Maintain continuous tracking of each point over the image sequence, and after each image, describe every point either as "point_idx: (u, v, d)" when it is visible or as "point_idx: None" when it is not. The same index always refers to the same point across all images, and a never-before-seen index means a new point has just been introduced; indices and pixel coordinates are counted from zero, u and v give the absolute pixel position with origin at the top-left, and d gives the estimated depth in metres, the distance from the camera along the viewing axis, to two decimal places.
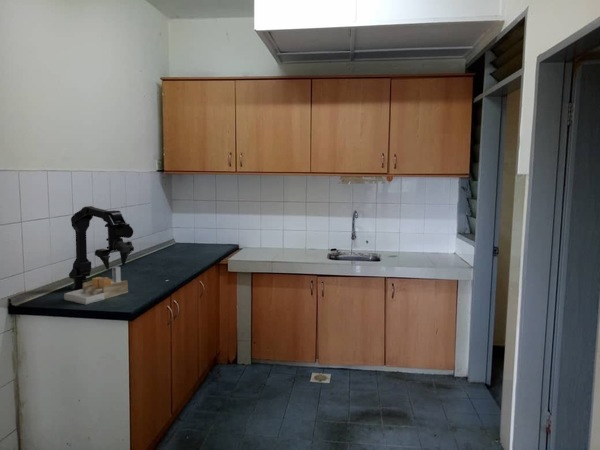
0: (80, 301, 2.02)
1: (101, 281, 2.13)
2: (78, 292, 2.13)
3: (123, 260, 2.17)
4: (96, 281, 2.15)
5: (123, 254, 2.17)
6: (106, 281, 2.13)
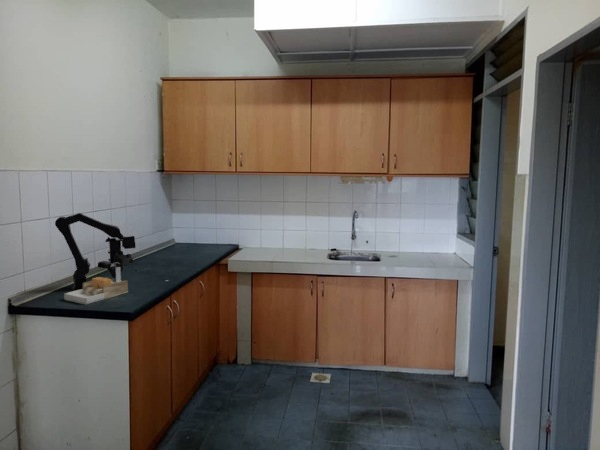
0: (80, 301, 2.02)
1: (101, 281, 2.13)
2: (78, 292, 2.13)
3: None
4: (96, 281, 2.15)
5: (119, 266, 2.36)
6: (106, 281, 2.13)
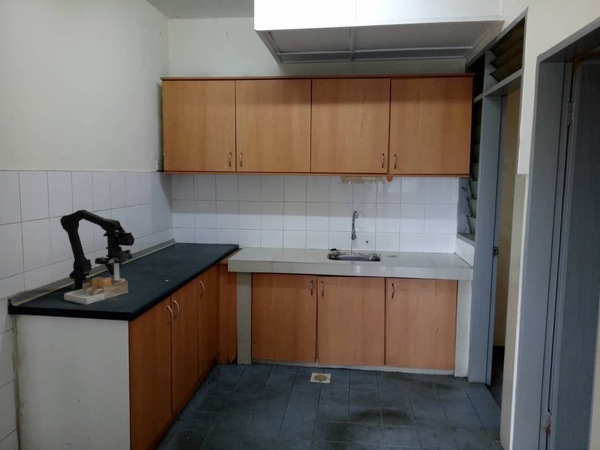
0: (80, 301, 2.02)
1: (101, 281, 2.13)
2: (78, 292, 2.13)
3: None
4: (96, 281, 2.15)
5: None
6: (106, 281, 2.13)
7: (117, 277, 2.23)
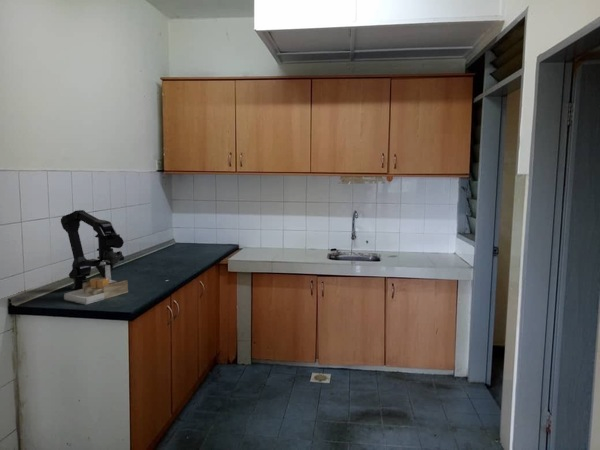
0: (80, 301, 2.02)
1: (100, 281, 2.12)
2: (78, 292, 2.13)
3: None
4: (94, 282, 2.14)
5: None
6: (104, 281, 2.12)
7: (109, 279, 2.18)
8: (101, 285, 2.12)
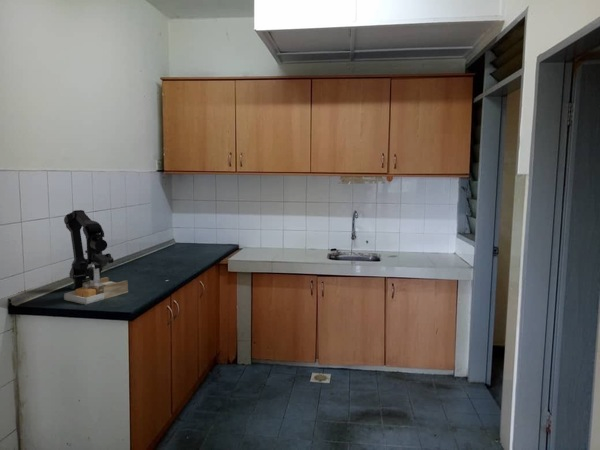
0: (80, 301, 2.02)
1: None
2: None
3: None
4: None
5: (97, 267, 2.14)
6: (89, 296, 2.06)
7: (97, 283, 2.12)
8: None
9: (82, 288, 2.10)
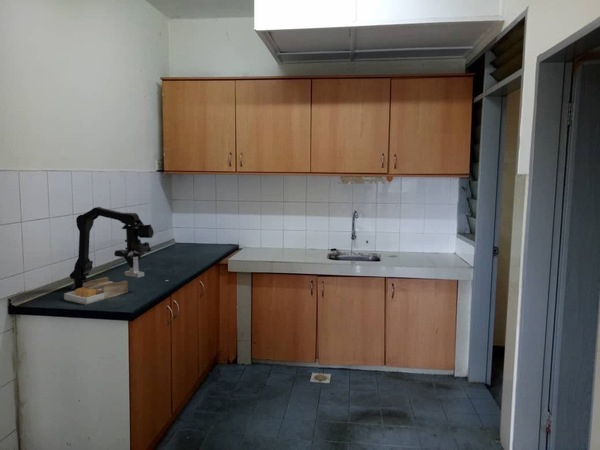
0: (80, 301, 2.02)
1: None
2: None
3: None
4: None
5: (136, 255, 2.25)
6: (89, 296, 2.06)
7: (136, 270, 2.23)
8: None
9: (82, 288, 2.10)
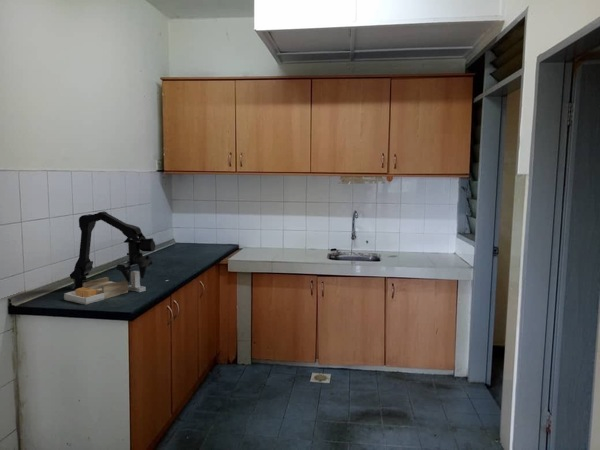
0: (80, 301, 2.02)
1: None
2: None
3: (142, 273, 2.29)
4: None
5: (142, 267, 2.29)
6: (89, 296, 2.06)
7: (138, 285, 2.25)
8: None
9: (82, 288, 2.10)
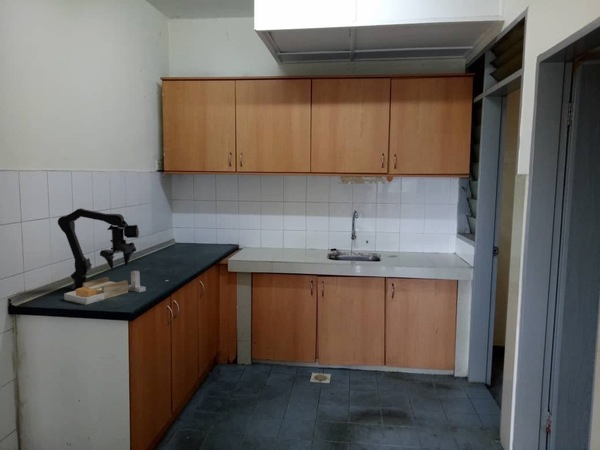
0: (80, 301, 2.02)
1: None
2: None
3: (126, 260, 2.33)
4: None
5: (126, 254, 2.34)
6: (89, 296, 2.06)
7: (138, 285, 2.25)
8: None
9: (82, 288, 2.10)
